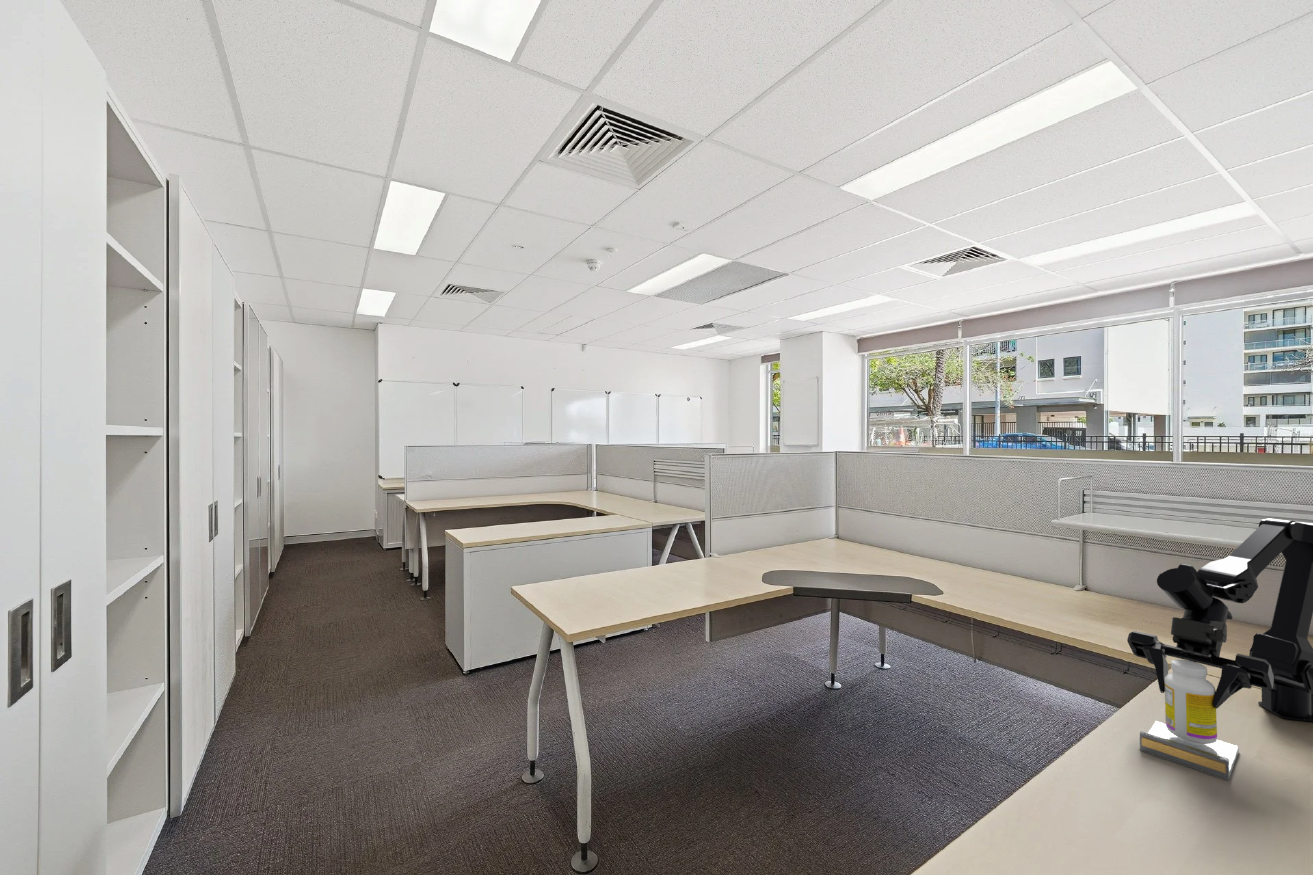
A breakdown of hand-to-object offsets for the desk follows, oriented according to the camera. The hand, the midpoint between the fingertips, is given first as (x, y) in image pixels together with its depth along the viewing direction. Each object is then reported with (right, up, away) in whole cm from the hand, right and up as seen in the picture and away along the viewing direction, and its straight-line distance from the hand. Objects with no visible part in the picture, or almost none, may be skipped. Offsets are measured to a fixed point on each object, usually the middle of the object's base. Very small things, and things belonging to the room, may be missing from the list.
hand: (1187, 699), depth 98 cm
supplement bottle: (+1, -7, +1) cm, 7 cm away
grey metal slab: (0, -9, 0) cm, 9 cm away
